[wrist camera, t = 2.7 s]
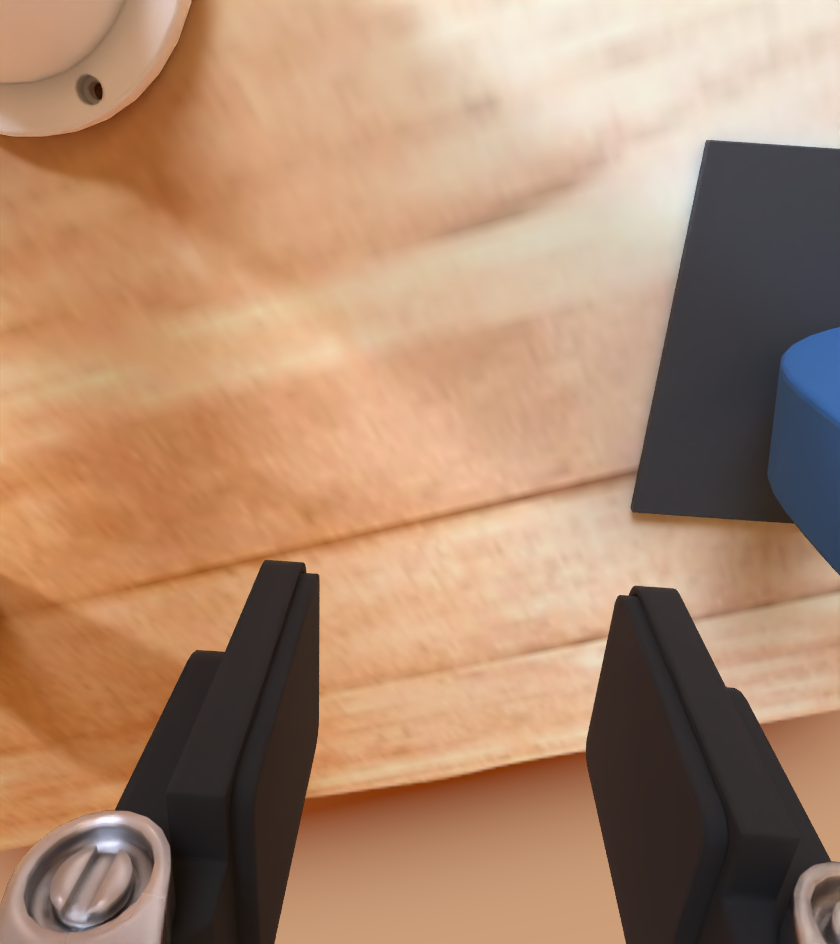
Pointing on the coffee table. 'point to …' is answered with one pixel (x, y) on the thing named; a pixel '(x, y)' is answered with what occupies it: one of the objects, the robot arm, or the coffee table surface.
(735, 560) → the coffee table surface
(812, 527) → the handheld scanner
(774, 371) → the mat
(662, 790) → the robot arm
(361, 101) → the coffee table surface
